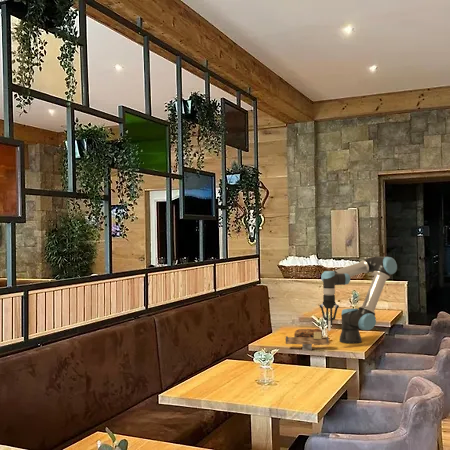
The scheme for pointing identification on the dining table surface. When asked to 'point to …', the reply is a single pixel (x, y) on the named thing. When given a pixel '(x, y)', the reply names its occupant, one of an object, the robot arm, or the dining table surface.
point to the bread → (306, 333)
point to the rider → (317, 335)
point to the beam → (306, 342)
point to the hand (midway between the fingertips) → (329, 330)
